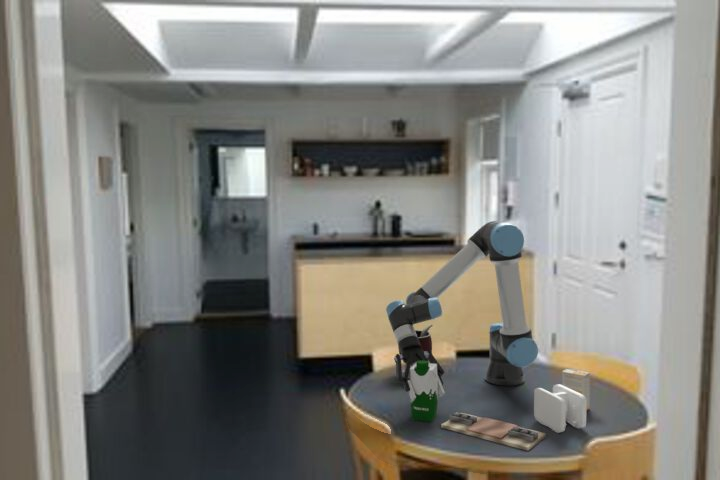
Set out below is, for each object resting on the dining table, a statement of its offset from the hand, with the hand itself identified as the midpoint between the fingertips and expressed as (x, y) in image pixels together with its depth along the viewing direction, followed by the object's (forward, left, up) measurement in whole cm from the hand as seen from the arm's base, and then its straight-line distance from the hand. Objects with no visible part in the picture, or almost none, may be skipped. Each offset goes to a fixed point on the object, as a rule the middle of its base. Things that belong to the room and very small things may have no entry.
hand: (428, 397), depth 212 cm
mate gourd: (-19, -47, -8) cm, 51 cm away
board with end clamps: (-14, +17, -8) cm, 23 cm away
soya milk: (0, -3, -8) cm, 9 cm away
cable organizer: (-37, +21, -8) cm, 43 cm away
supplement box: (-52, +11, -8) cm, 54 cm away
